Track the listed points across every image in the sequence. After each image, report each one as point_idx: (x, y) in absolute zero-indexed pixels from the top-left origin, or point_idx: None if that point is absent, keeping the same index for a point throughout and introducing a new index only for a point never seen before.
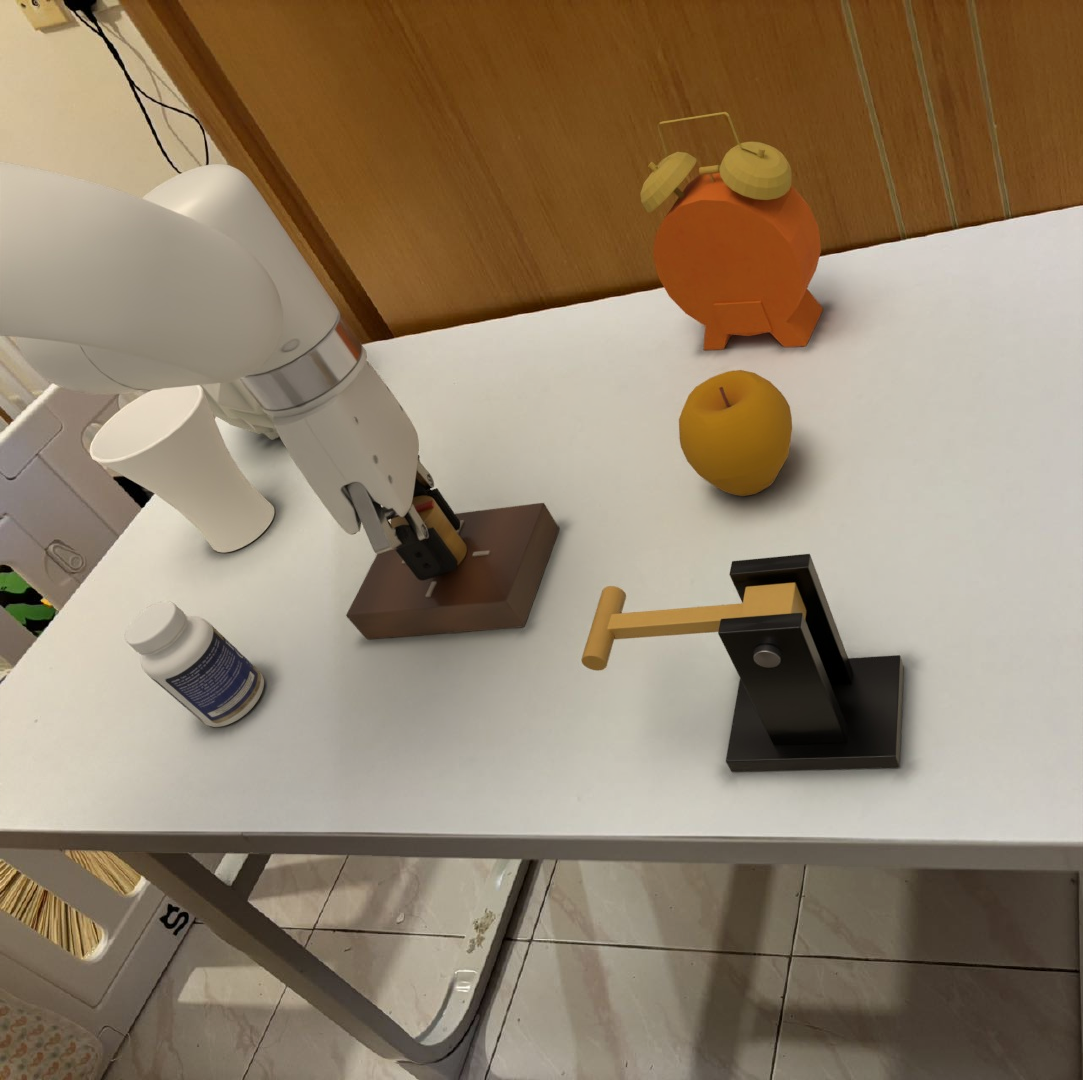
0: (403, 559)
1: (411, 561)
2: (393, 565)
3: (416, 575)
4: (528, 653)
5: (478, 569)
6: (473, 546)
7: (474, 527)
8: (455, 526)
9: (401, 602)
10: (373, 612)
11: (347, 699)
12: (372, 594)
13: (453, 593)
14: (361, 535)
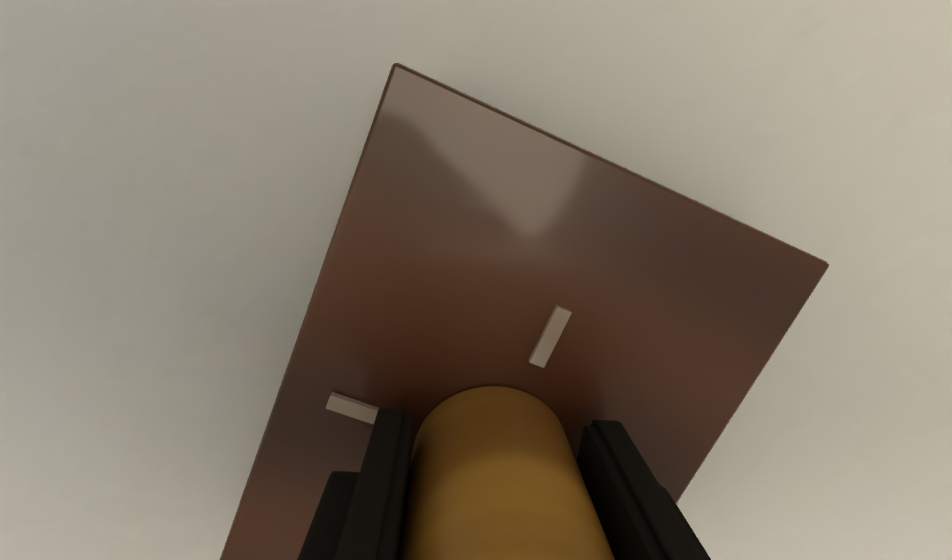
0: (358, 487)
1: (308, 534)
2: (573, 268)
3: (376, 422)
4: (167, 522)
5: None
6: None
7: None
8: None
9: (350, 304)
10: (349, 193)
11: (171, 18)
12: (458, 184)
13: (304, 476)
14: (940, 47)
